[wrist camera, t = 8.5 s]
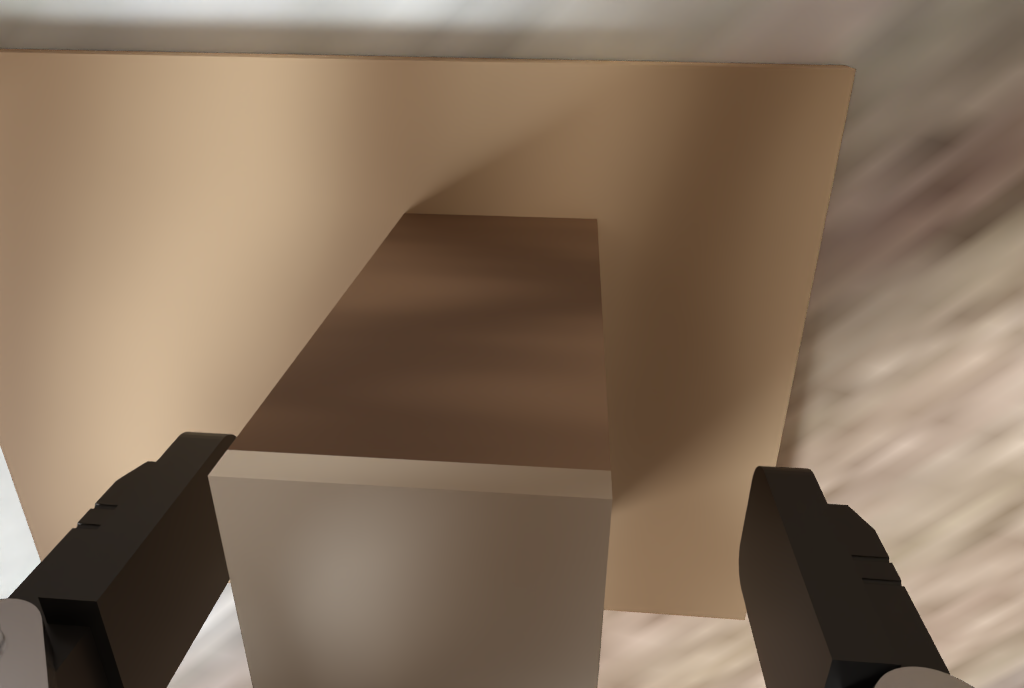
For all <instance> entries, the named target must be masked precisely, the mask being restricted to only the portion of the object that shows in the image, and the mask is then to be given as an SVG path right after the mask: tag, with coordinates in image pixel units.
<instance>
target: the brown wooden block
mask: <svg viewBox="0 0 1024 688" xmlns="http://www.w3.org/2000/svg"><path fill="white" fill-rule="evenodd" d="M208 479H209V484H210V489H211V493H212V498H213V503H214V507H215V512H216V517H217V521H218V526H219V531H220V535H221V540H222V545H223V550H224V554H225V559H226V564H227V568H228V573H229V578H230V582H231V587H232V592H233V596H234V601H235V606H236V610H237V615H238V620H239V624H240V629H241V634H242V638H243V643H244V648H245V653H246V657H247V662H248V667H249V671H250V676H251V681H252V685H253V688H597V685H598V673H599V660H600V648H601V636H602V623H603V611H604V598H605V586H606V574H607V561H608V549H609V536H610V524H611V512H612V481H611V463H610V444H609V426H608V408H607V389H606V371H605V353H604V335H603V316H602V298H601V280H600V261H599V243H598V225H597V219H582V218H549V217H516V216H483V215H450V214H417V213H404V214H403V216H402V217H401V218H400V220H399V221H398V222H397V224H396V225H395V226H394V228H393V229H392V230H391V232H390V233H389V234H388V236H387V237H386V238H385V240H384V241H383V242H382V244H381V245H380V246H379V248H378V249H377V250H376V252H375V253H374V254H373V256H372V257H371V258H370V260H369V261H368V262H367V264H366V265H365V266H364V268H363V269H362V270H361V272H360V273H359V274H358V276H357V277H356V278H355V280H354V281H353V282H352V284H351V285H350V286H349V288H348V289H347V290H346V292H345V293H344V294H343V296H342V297H341V298H340V300H339V301H338V302H337V304H336V305H335V306H334V308H333V309H332V310H331V312H330V313H329V314H328V316H327V317H326V318H325V320H324V321H323V322H322V324H321V325H320V326H319V328H318V329H317V331H316V332H315V333H314V335H313V336H312V337H311V339H310V340H309V341H308V343H307V344H306V345H305V347H304V348H303V349H302V351H301V352H300V353H299V355H298V356H297V357H296V359H295V360H294V361H293V363H292V364H291V365H290V367H289V368H288V369H287V371H286V372H285V373H284V375H283V376H282V377H281V379H280V380H279V381H278V383H277V384H276V385H275V387H274V388H273V389H272V391H271V392H270V393H269V395H268V396H267V397H266V399H265V400H264V401H263V403H262V404H261V405H260V407H259V408H258V409H257V411H256V412H255V413H254V415H253V416H252V417H251V419H250V420H249V421H248V423H247V424H246V425H245V427H244V428H243V429H242V431H241V432H240V433H239V435H238V436H237V437H236V439H235V440H234V441H233V443H232V444H231V445H230V447H229V448H228V449H227V451H226V452H225V453H224V455H223V456H222V457H221V459H220V460H219V461H218V463H217V464H216V466H215V467H214V468H213V470H212V471H211V472H210V474H209V475H208Z"/></svg>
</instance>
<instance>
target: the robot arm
mask: <svg viewBox="0 0 1024 688" xmlns="http://www.w3.org/2000/svg"><path fill="white" fill-rule="evenodd" d="M235 439H236V436H235V435H233V434H221V433H203V432H184V433H182V434H180V435H179V436H178V437H177V439H176V440H175V441H174V442H173V443H172V444H171V445H170V447H169V448H168V449H167V450H166V451H165V452H164V453H163V455H162V456H161V457H160V458H159V459H158V460H157V461H156V462H154V461H147V462H145V463H144V464H142V465H141V466H139V467H137V468H136V469H134V470H132V471H131V472H129V473H128V474H126V475H124V476H123V477H121V478H119V479H118V480H116V481H115V482H114V484H113V485H112V486H111V487H110V488H109V489H108V490H107V491H106V492H105V493H104V494H103V495H102V497H101V498H100V499H99V500H98V501H97V502H96V503H95V507H94V509H92V508H90V510H89V511H88V512H87V513H86V514H85V515H84V516H83V517H82V518H81V519H80V520H79V521H78V523H77V527H76V528H72V529H71V530H70V531H69V532H68V533H67V534H66V536H65V537H64V538H63V539H62V540H61V541H60V542H59V543H58V544H57V545H56V546H55V548H54V549H53V550H52V551H51V552H50V553H49V554H48V555H47V556H46V557H45V558H44V559H43V561H42V562H41V563H40V564H39V565H38V566H37V567H36V568H35V569H34V570H33V571H32V572H31V574H30V575H29V576H28V577H27V578H26V579H25V580H24V581H23V582H22V583H21V584H20V585H19V587H18V588H17V589H16V590H15V591H14V592H13V593H12V594H11V595H10V596H9V597H8V598H6V599H0V688H167V686H168V684H169V682H170V681H171V679H172V677H173V676H174V674H175V672H176V670H177V669H178V667H179V665H180V664H181V662H182V660H183V658H184V657H185V655H186V653H187V652H188V650H189V648H190V646H191V645H192V643H193V641H194V640H195V638H196V636H197V635H198V633H199V631H200V629H201V628H202V626H203V624H204V623H205V621H206V619H207V617H208V616H209V614H210V612H211V611H212V609H213V607H214V605H215V604H216V602H217V600H218V599H219V597H220V595H221V593H222V592H223V590H224V588H225V587H226V585H227V583H228V581H229V580H230V578H229V573H228V568H227V564H226V559H225V554H224V550H223V545H222V540H221V535H220V531H219V526H218V521H217V517H216V512H215V507H214V503H213V498H212V493H211V489H210V484H209V479H208V475H209V474H210V472H211V471H212V470H213V468H214V467H215V466H216V464H217V463H218V461H219V460H220V459H221V457H222V456H223V455H224V453H225V452H226V451H227V449H228V448H229V447H230V445H231V444H232V443H233V441H234V440H235ZM739 578H740V585H741V590H742V594H743V598H744V602H745V606H746V610H747V614H748V618H749V621H750V625H751V629H752V633H753V637H754V641H755V645H756V649H757V653H758V657H759V661H760V665H761V668H762V672H763V676H764V680H765V684H766V688H974V687H973V686H971V685H969V684H968V683H966V682H964V681H962V680H961V679H958V678H956V677H954V676H952V675H950V673H949V671H948V669H947V667H946V665H945V663H944V661H943V659H942V658H941V656H940V654H939V652H938V650H937V648H936V646H935V644H934V642H933V640H932V638H931V636H930V635H929V633H928V631H927V629H926V627H925V625H924V623H923V621H922V619H921V617H920V615H919V614H918V612H917V610H916V608H915V606H914V604H913V602H912V600H911V598H910V596H909V594H908V592H907V591H906V589H905V587H904V586H901V579H900V577H899V575H898V573H897V571H896V570H895V568H894V566H893V564H892V563H889V556H888V554H887V552H886V550H885V548H884V547H883V545H882V543H881V541H880V539H879V537H878V535H877V533H876V531H875V530H874V529H873V528H872V527H871V526H870V525H869V524H868V523H867V522H866V521H864V520H863V519H862V518H861V517H860V516H859V515H858V514H857V513H856V512H855V511H853V510H852V509H851V508H850V507H849V506H848V505H836V504H827V502H826V500H825V497H824V495H823V493H822V491H821V489H820V486H819V484H818V482H817V480H816V478H815V476H814V474H813V472H812V471H811V470H810V469H805V468H787V467H770V466H758V467H756V469H755V471H754V474H753V478H752V482H751V488H750V493H749V498H748V504H747V509H746V515H745V520H744V525H743V531H742V536H741V541H740V547H739Z"/></svg>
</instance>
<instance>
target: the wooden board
mask: <svg viewBox="0 0 1024 688" xmlns="http://www.w3.org/2000/svg"><path fill="white" fill-rule="evenodd" d="M855 72H856V69H853V68H851V67H848V66H845V65H806V64H755V63H705V62H654V61H603V60H552V59H501V58H451V57H400V56H349V55H298V54H247V53H197V52H146V51H95V50H44V49H0V446H1V449H2V452H3V454H4V457H5V460H6V463H7V466H8V469H9V471H10V474H11V477H12V480H13V483H14V486H15V489H16V491H17V494H18V497H19V500H20V503H21V506H22V509H23V511H24V514H25V517H26V520H27V523H28V526H29V529H30V531H31V534H32V537H33V540H34V543H35V546H36V549H37V551H38V554H39V557H40V560H41V562H42V561H43V559H44V558H45V557H46V556H47V555H48V554H49V553H50V552H51V551H52V550H53V549H54V548H55V546H56V545H57V544H58V543H59V542H60V541H61V540H62V539H63V538H64V537H65V536H66V534H67V533H68V532H69V531H70V530H71V529H72V528H76V527H77V523H78V521H79V520H80V519H81V518H82V517H83V516H84V515H85V514H86V513H87V512H88V511H89V510H90V508H92V509H94V507H95V503H96V502H97V501H98V500H99V499H100V498H101V497H102V495H103V494H104V493H105V492H106V491H107V490H108V489H109V488H110V487H111V486H112V485H113V484H114V482H115V481H116V480H118V479H119V478H121V477H123V476H124V475H126V474H128V473H129V472H131V471H132V470H134V469H136V468H137V467H139V466H141V465H142V464H144V463H145V462H147V461H154V462H156V461H157V460H158V459H159V458H160V457H161V456H162V455H163V453H164V452H165V451H166V450H167V449H168V448H169V447H170V445H171V444H172V443H173V442H174V441H175V440H176V439H177V437H178V436H179V435H180V434H182V433H184V432H203V433H221V434H233V435H235V436H236V437H237V436H238V435H239V433H240V432H241V431H242V429H243V428H244V427H245V425H246V424H247V423H248V421H249V420H250V419H251V417H252V416H253V415H254V413H255V412H256V411H257V409H258V408H259V407H260V405H261V404H262V403H263V401H264V400H265V399H266V397H267V396H268V395H269V393H270V392H271V391H272V389H273V388H274V387H275V385H276V384H277V383H278V381H279V380H280V379H281V377H282V376H283V375H284V373H285V372H286V371H287V369H288V368H289V367H290V365H291V364H292V363H293V361H294V360H295V359H296V357H297V356H298V355H299V353H300V352H301V351H302V349H303V348H304V347H305V345H306V344H307V343H308V341H309V340H310V339H311V337H312V336H313V335H314V333H315V332H316V331H317V329H318V328H319V326H320V325H321V324H322V322H323V321H324V320H325V318H326V317H327V316H328V314H329V313H330V312H331V310H332V309H333V308H334V306H335V305H336V304H337V302H338V301H339V300H340V298H341V297H342V296H343V294H344V293H345V292H346V290H347V289H348V288H349V286H350V285H351V284H352V282H353V281H354V280H355V278H356V277H357V276H358V274H359V273H360V272H361V270H362V269H363V268H364V266H365V265H366V264H367V262H368V261H369V260H370V258H371V257H372V256H373V254H374V253H375V252H376V250H377V249H378V248H379V246H380V245H381V244H382V242H383V241H384V240H385V238H386V237H387V236H388V234H389V233H390V232H391V230H392V229H393V228H394V226H395V225H396V224H397V222H398V221H399V220H400V218H401V217H402V216H403V214H404V213H417V214H450V215H483V216H516V217H549V218H582V219H597V225H598V243H599V261H600V280H601V298H602V316H603V335H604V353H605V371H606V389H607V408H608V426H609V444H610V463H611V481H612V512H611V524H610V536H609V549H608V561H607V574H606V586H605V598H604V610H614V611H628V612H641V613H655V614H669V615H683V616H697V617H711V618H724V619H738V620H745V616H746V611H747V610H746V606H745V602H744V598H743V594H742V590H741V585H740V578H739V547H740V541H741V536H742V531H743V525H744V520H745V515H746V509H747V504H748V498H749V493H750V488H751V482H752V478H753V474H754V471H755V469H756V467H758V466H770V467H776V462H777V458H778V453H779V448H780V443H781V438H782V433H783V428H784V423H785V418H786V413H787V408H788V403H789V398H790V393H791V388H792V383H793V378H794V373H795V368H796V364H797V359H798V354H799V349H800V344H801V339H802V334H803V329H804V324H805V319H806V314H807V309H808V304H809V299H810V294H811V289H812V284H813V279H814V274H815V270H816V265H817V260H818V255H819V250H820V245H821V240H822V235H823V230H824V225H825V220H826V215H827V210H828V205H829V200H830V195H831V190H832V185H833V180H834V175H835V171H836V166H837V161H838V156H839V151H840V146H841V141H842V136H843V131H844V126H845V121H846V116H847V111H848V106H849V101H850V96H851V91H852V86H853V81H854V77H855ZM228 583H231V582H230V580H229V581H228Z"/></svg>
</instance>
